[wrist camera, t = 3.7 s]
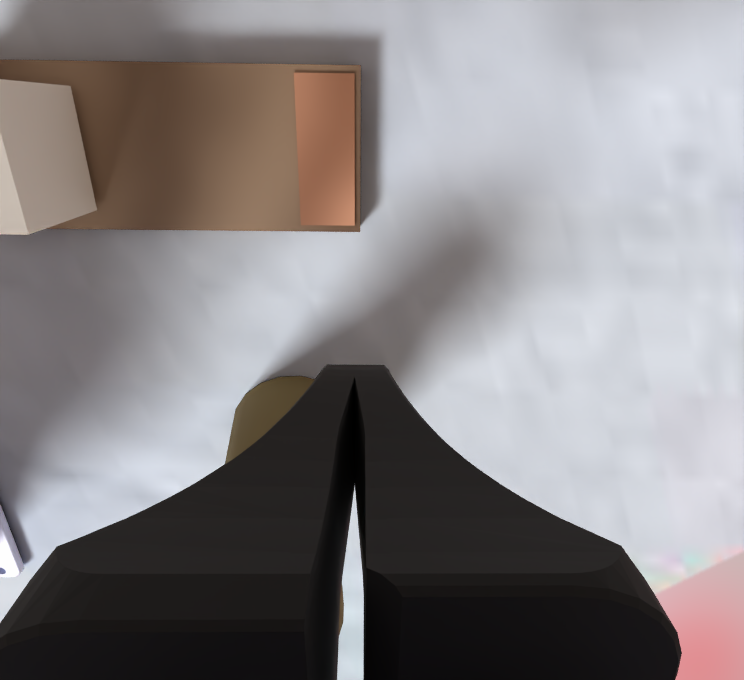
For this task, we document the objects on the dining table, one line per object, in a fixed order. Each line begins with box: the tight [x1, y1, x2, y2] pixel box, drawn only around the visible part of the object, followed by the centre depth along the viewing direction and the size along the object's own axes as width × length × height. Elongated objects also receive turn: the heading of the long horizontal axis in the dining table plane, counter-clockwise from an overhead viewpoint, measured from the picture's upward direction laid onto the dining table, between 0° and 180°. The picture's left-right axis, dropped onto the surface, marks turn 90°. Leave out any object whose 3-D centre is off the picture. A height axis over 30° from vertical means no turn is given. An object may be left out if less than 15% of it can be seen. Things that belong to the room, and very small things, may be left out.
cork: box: [225, 376, 344, 634], centre depth 19 cm, size 6×6×11 cm
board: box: [0, 60, 361, 232], centre depth 18 cm, size 15×6×1 cm, turn 89°
